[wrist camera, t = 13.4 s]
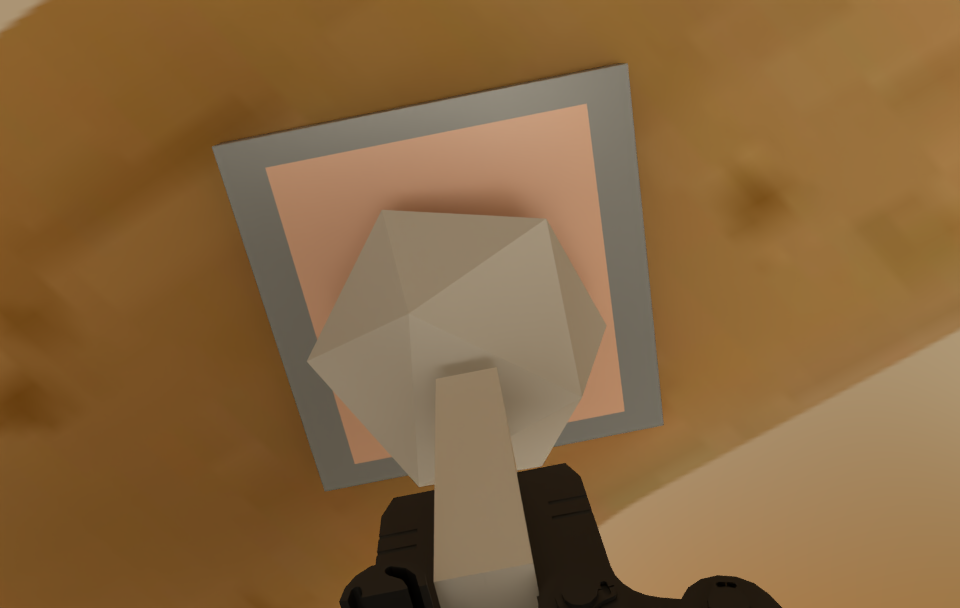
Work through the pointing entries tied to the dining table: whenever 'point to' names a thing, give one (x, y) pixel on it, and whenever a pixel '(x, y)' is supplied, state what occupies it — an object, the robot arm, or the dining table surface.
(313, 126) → the base plate
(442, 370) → the die
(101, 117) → the dining table surface
